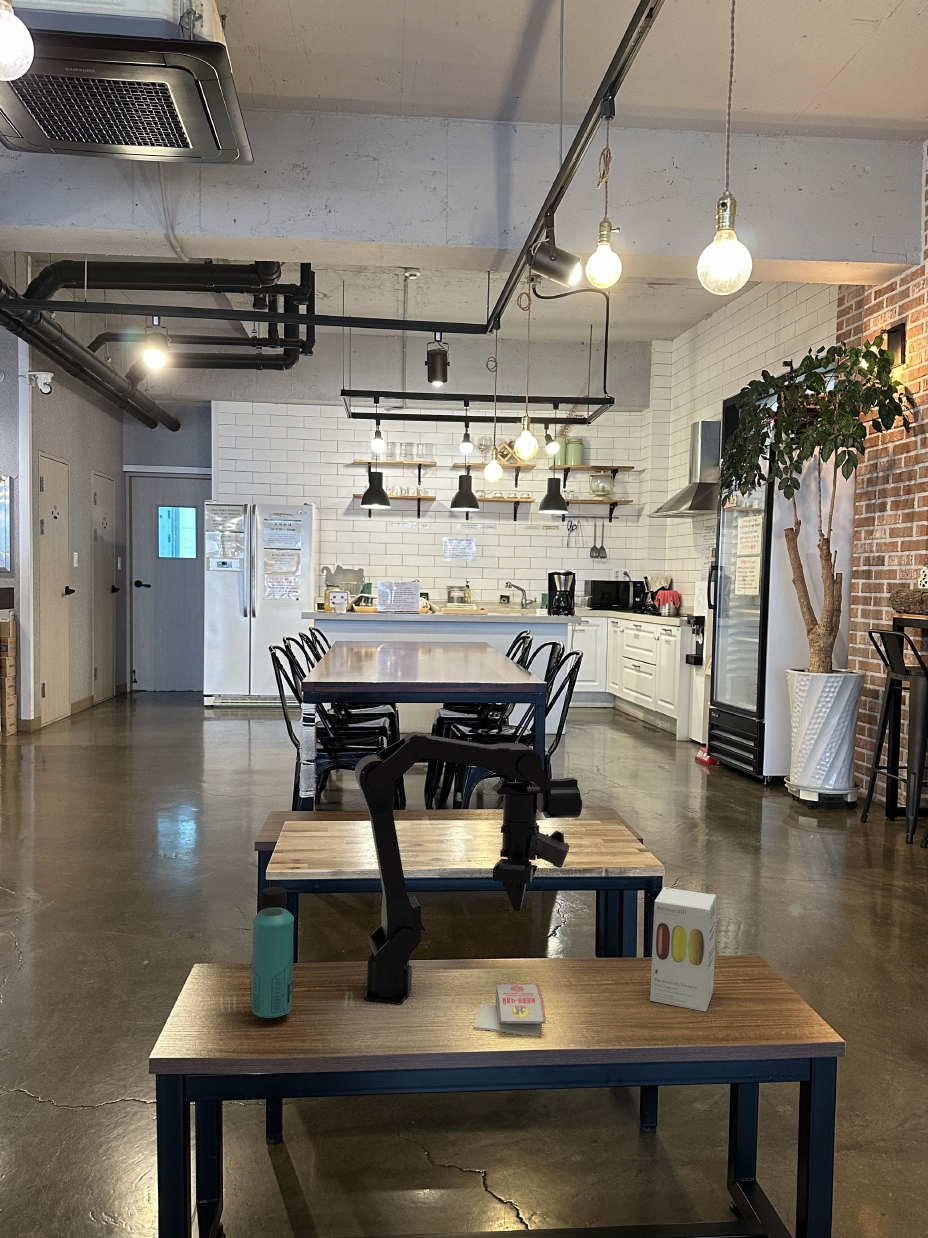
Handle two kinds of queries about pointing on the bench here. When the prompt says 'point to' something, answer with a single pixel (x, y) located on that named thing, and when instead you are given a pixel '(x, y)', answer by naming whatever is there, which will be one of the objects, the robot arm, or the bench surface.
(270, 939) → the beverage bottle
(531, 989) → the white printed box
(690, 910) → the supplement box
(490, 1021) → the mat
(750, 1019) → the bench surface
